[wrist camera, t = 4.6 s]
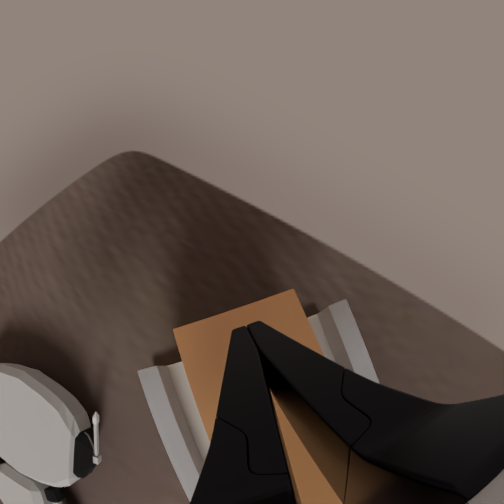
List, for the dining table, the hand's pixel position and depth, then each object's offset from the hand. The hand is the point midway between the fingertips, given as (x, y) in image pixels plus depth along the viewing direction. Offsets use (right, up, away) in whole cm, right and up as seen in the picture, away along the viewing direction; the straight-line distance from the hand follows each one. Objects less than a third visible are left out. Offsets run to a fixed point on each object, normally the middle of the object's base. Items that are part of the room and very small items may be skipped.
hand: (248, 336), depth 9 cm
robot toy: (-16, -14, +8) cm, 23 cm away
